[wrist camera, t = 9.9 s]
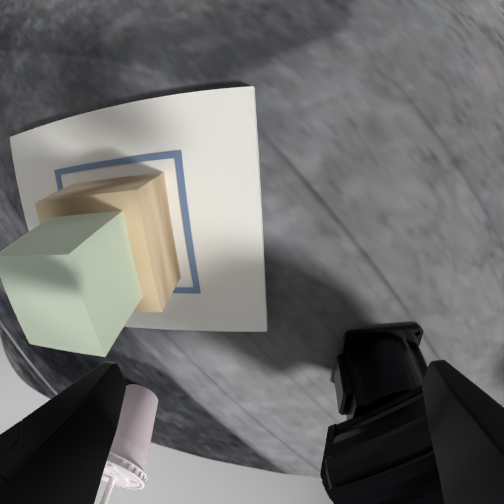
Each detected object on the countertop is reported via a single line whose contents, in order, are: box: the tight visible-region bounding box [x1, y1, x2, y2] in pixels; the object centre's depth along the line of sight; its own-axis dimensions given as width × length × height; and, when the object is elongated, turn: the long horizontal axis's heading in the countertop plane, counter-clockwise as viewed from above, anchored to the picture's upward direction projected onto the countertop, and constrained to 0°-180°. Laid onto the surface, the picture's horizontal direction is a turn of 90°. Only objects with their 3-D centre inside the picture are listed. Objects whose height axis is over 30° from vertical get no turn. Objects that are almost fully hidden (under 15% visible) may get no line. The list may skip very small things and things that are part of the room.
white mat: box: [10, 86, 267, 332], centre depth 20 cm, size 18×16×1 cm
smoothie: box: [100, 384, 158, 504], centre depth 23 cm, size 6×6×14 cm
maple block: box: [35, 172, 181, 312], centre depth 18 cm, size 7×7×4 cm
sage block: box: [0, 211, 143, 357], centre depth 14 cm, size 5×5×5 cm
